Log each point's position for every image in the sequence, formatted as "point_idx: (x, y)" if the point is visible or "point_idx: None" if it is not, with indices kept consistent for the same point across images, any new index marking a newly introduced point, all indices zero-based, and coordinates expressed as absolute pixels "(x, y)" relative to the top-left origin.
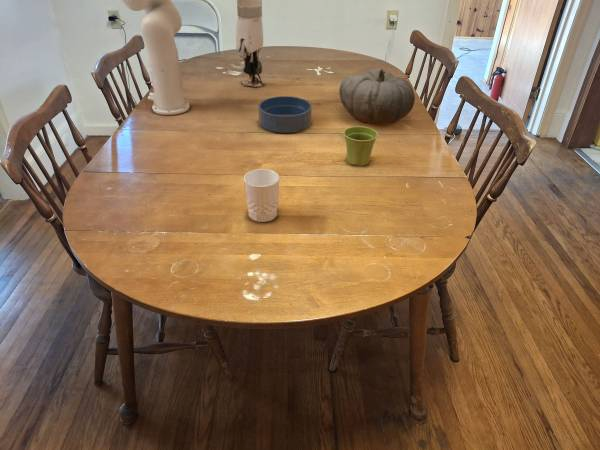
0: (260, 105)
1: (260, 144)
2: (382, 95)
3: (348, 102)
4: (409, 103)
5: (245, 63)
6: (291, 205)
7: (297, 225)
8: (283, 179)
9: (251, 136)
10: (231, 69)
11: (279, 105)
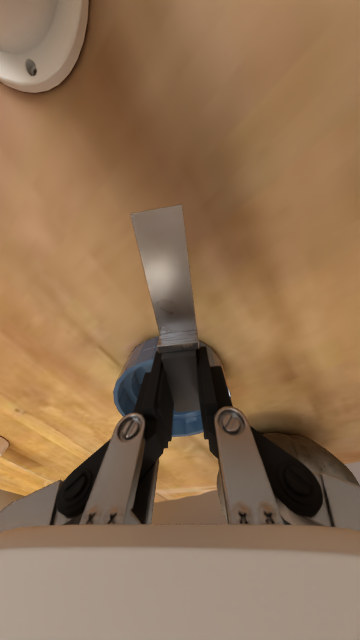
0: (142, 365)
1: (85, 380)
2: None
3: None
4: None
5: (146, 396)
6: (27, 448)
7: (14, 458)
8: (49, 431)
9: (93, 358)
10: (146, 251)
11: None
